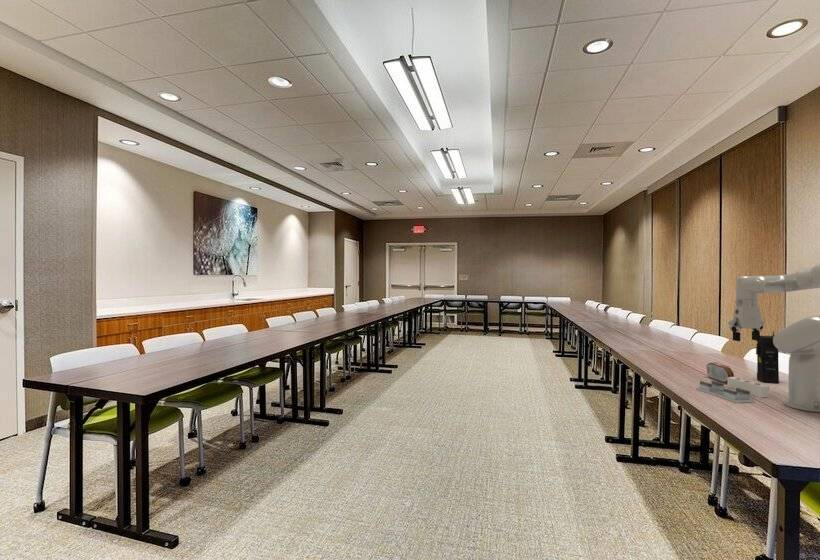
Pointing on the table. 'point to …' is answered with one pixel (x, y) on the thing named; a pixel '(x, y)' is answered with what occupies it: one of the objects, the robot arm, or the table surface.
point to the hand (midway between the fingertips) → (746, 340)
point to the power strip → (748, 386)
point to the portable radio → (767, 360)
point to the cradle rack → (725, 392)
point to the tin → (719, 372)
